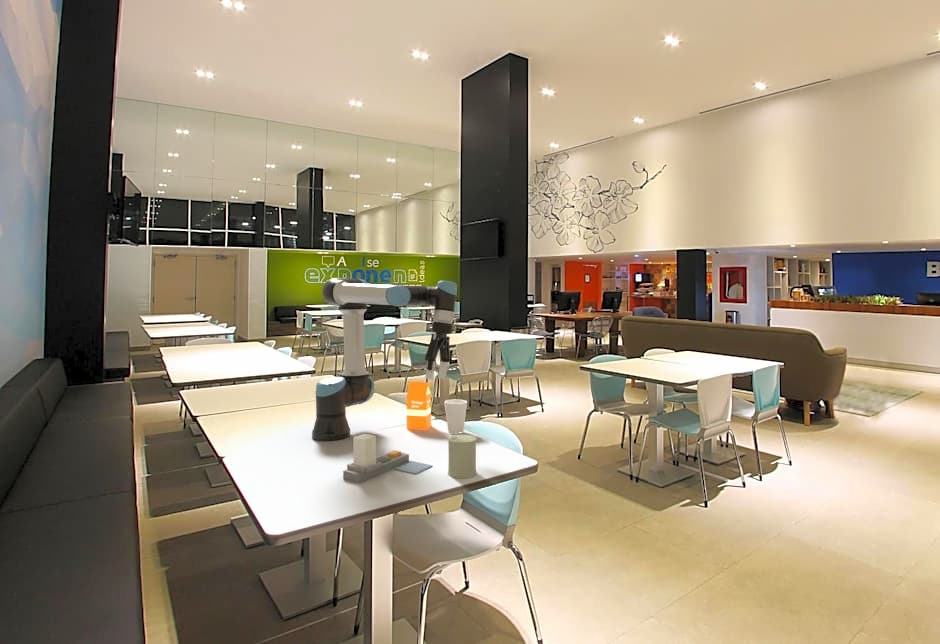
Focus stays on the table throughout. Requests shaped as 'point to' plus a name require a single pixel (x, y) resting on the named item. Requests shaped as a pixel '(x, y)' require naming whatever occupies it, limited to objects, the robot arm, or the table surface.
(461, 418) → the foam cup
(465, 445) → the can
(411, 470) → the mat
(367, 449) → the white tall block
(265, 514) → the table surface
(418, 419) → the orange juice
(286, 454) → the table surface
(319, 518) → the table surface
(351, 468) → the strip
